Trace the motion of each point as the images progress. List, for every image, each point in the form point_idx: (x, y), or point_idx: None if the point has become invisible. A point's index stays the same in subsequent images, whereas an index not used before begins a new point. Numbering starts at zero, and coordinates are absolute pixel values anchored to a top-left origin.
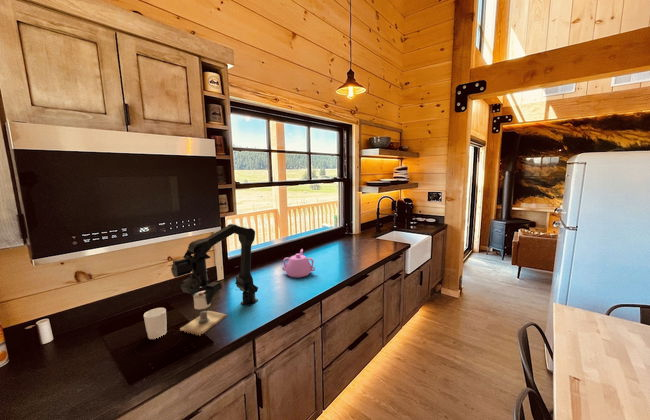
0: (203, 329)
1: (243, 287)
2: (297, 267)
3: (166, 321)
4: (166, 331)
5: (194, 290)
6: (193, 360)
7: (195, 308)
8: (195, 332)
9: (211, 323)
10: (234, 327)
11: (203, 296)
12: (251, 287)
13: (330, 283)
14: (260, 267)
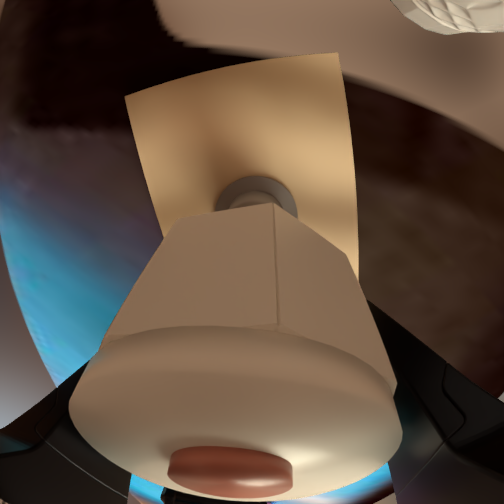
0: (148, 143)
1: (179, 496)
2: None
3: (444, 2)
4: (401, 9)
5: (435, 493)
6: (6, 11)
7: (254, 206)
8: (164, 85)
9: (173, 222)
10: (64, 268)
11: (88, 425)
12: (162, 492)
13: (130, 481)
14: (379, 489)
